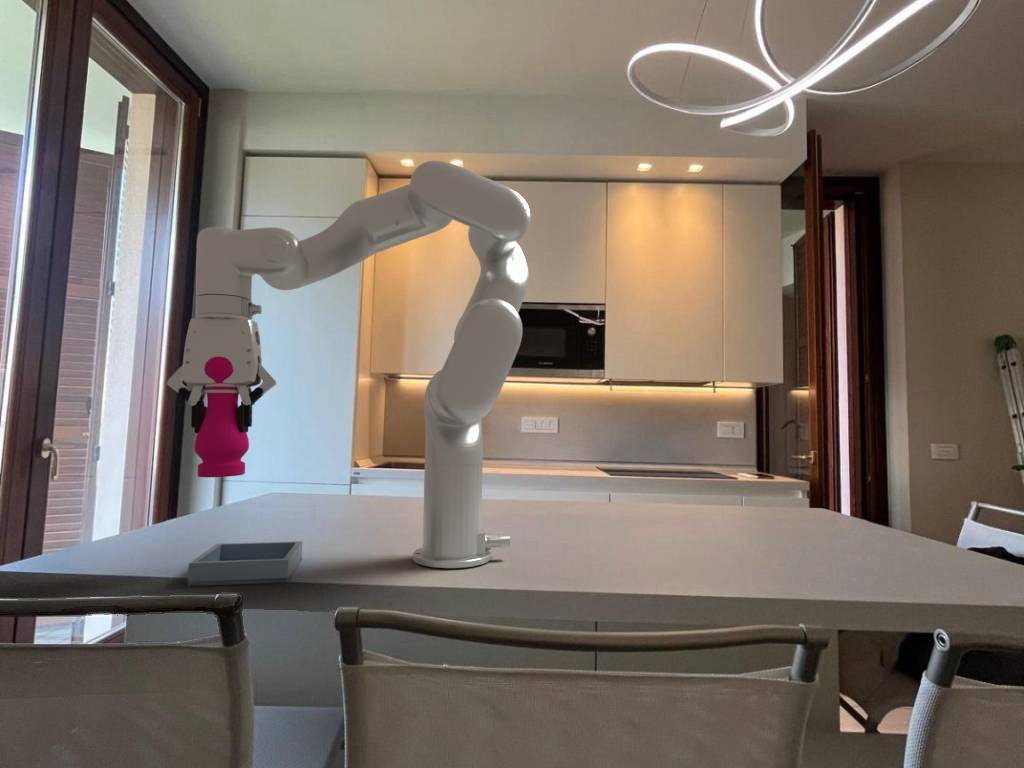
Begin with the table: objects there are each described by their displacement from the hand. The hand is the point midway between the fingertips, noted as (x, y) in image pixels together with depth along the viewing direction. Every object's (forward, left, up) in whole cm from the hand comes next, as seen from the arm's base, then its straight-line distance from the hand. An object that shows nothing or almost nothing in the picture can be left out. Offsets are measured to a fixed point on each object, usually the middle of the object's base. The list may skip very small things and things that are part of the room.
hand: (222, 431), depth 84 cm
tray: (-5, +1, -21) cm, 21 cm away
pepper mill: (0, 0, -7) cm, 7 cm away
